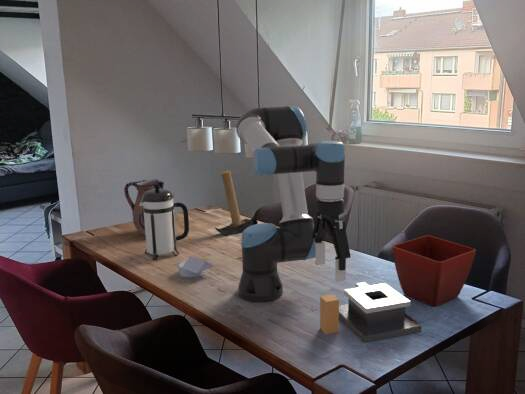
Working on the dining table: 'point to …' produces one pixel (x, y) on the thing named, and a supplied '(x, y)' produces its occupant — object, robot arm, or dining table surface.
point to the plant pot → (432, 268)
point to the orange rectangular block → (329, 314)
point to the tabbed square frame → (377, 312)
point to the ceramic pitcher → (136, 209)
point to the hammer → (233, 210)
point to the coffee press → (161, 222)
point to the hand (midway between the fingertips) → (329, 272)
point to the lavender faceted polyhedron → (193, 267)
